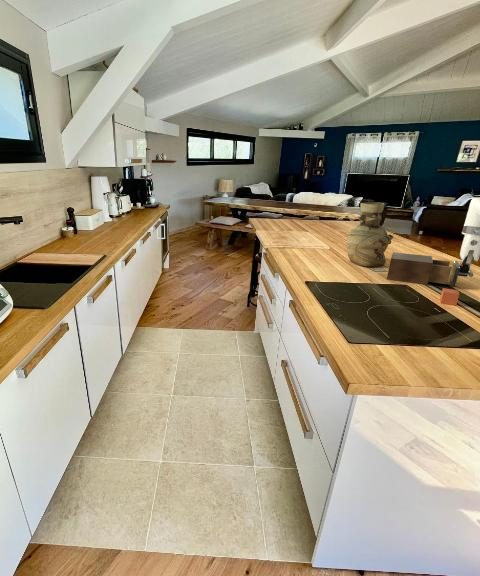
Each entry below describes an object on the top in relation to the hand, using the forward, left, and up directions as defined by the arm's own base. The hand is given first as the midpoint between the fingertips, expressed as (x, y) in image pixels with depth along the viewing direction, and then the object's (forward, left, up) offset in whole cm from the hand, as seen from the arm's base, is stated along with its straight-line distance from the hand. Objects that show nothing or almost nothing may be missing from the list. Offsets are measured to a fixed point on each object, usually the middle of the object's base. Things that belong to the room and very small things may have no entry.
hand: (461, 275), depth 127 cm
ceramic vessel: (+37, -18, -4) cm, 41 cm away
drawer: (+6, 0, -3) cm, 7 cm away
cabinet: (+18, 0, -4) cm, 19 cm away
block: (+5, +24, -4) cm, 25 cm away
